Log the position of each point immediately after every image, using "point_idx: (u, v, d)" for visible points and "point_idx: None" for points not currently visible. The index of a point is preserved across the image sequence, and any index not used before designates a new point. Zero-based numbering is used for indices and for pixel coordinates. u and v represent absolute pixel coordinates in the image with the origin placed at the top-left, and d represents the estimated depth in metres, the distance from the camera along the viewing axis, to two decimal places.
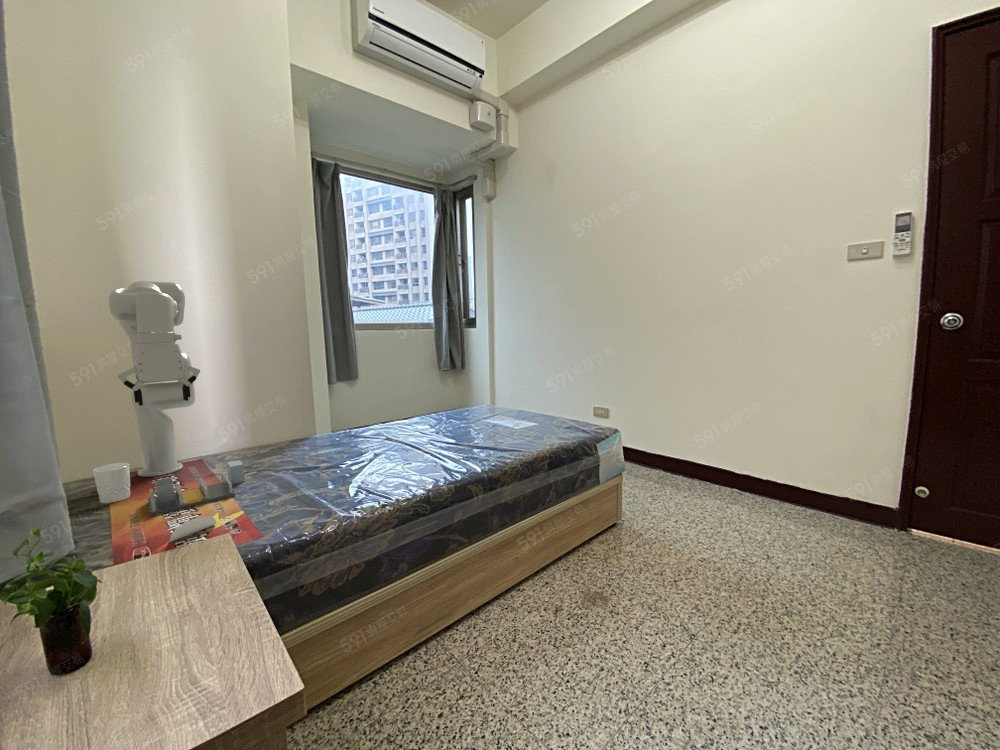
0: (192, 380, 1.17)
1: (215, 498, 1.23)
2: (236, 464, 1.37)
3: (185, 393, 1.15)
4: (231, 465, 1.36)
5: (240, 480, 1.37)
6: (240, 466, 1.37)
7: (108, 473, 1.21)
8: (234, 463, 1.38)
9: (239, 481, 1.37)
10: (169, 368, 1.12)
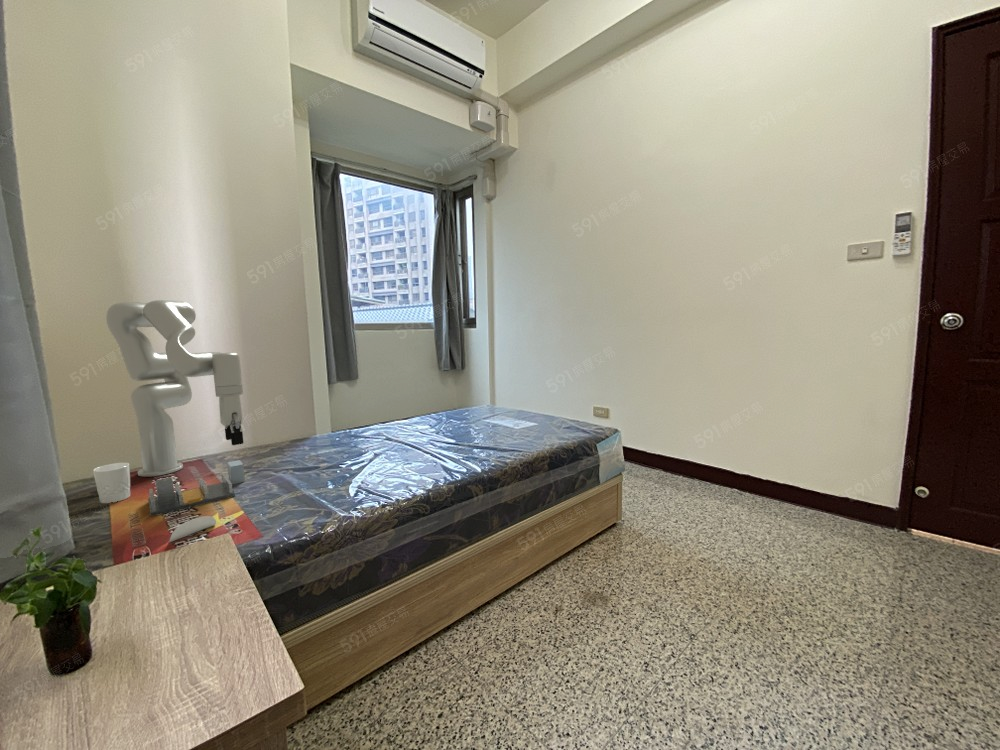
0: None
1: (215, 498, 1.23)
2: (236, 464, 1.37)
3: None
4: (231, 465, 1.36)
5: (240, 480, 1.37)
6: (240, 466, 1.37)
7: (108, 473, 1.21)
8: (234, 463, 1.38)
9: (239, 481, 1.37)
10: None
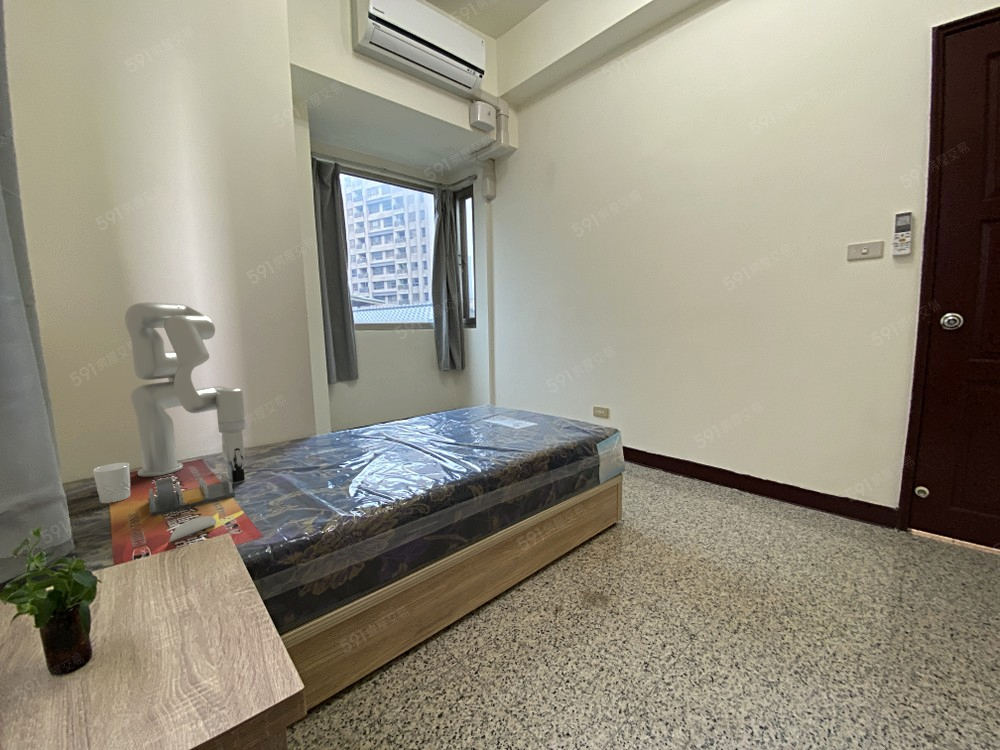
0: None
1: (215, 498, 1.23)
2: None
3: None
4: (231, 465, 1.36)
5: None
6: None
7: (108, 473, 1.21)
8: None
9: (239, 481, 1.37)
10: None
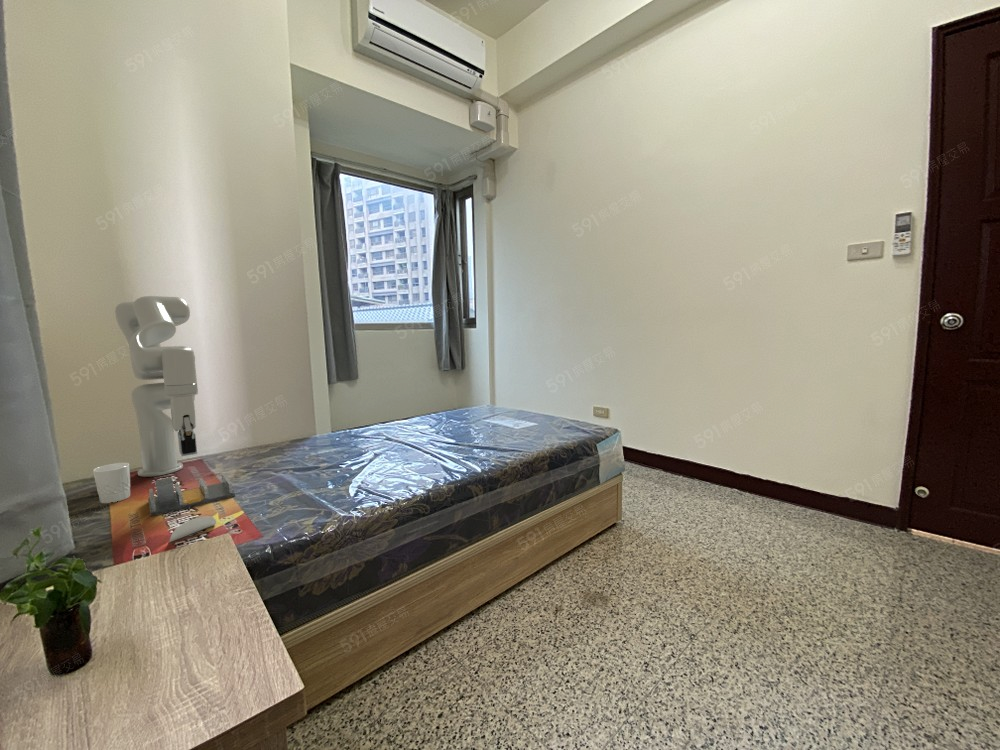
0: None
1: (215, 498, 1.23)
2: None
3: None
4: None
5: None
6: None
7: (108, 473, 1.21)
8: None
9: (190, 453, 1.21)
10: None
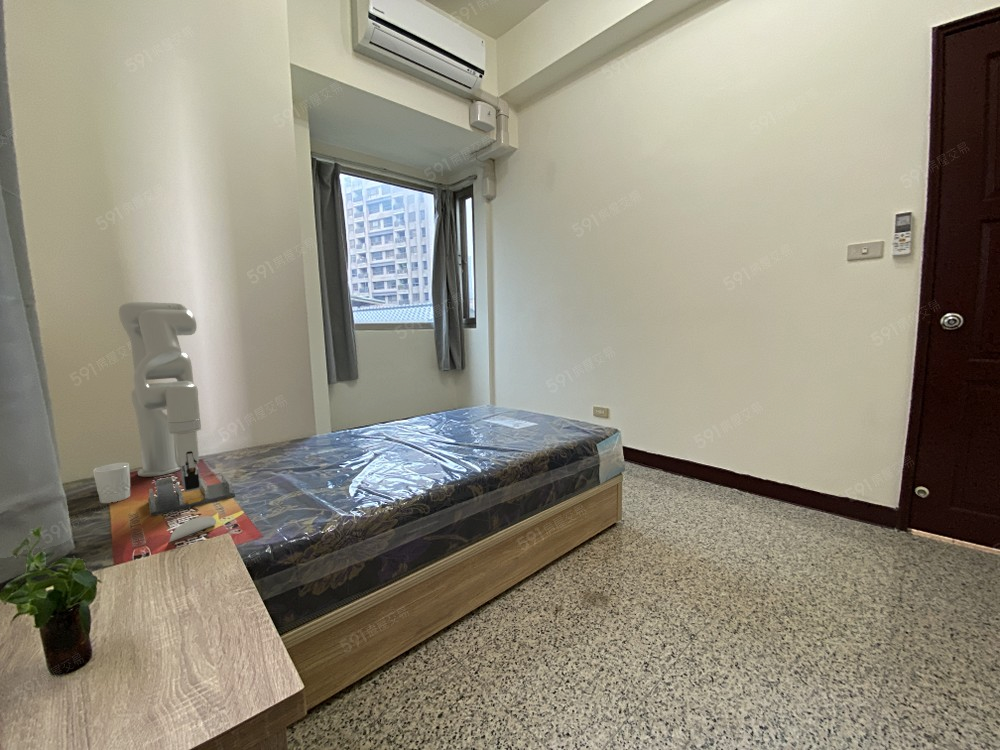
0: None
1: (215, 498, 1.23)
2: None
3: None
4: (184, 470, 1.21)
5: None
6: None
7: (108, 473, 1.21)
8: None
9: None
10: None
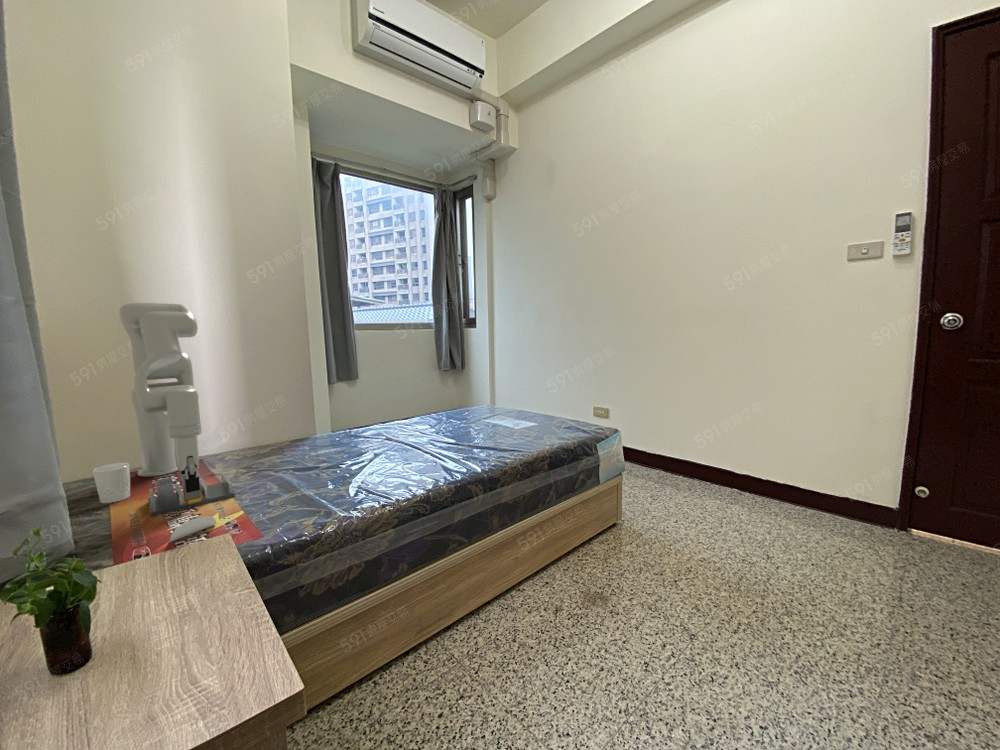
0: None
1: (215, 498, 1.23)
2: None
3: None
4: (185, 478, 1.21)
5: (195, 495, 1.22)
6: None
7: (108, 473, 1.21)
8: None
9: (194, 496, 1.22)
10: None
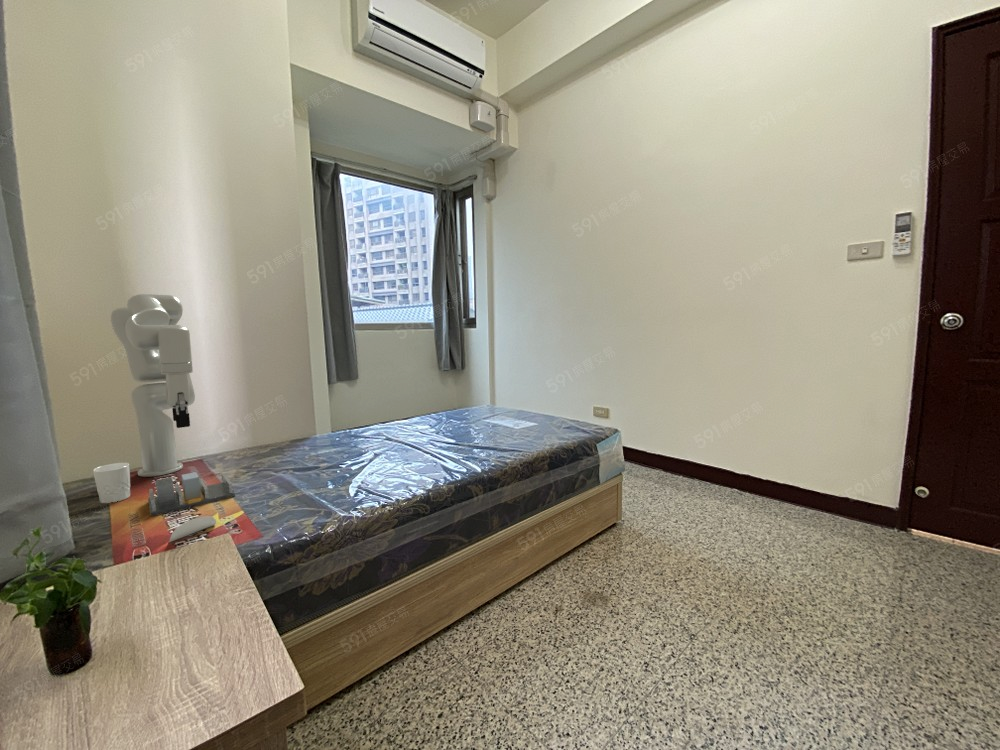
0: None
1: (215, 498, 1.23)
2: (191, 477, 1.22)
3: None
4: (185, 478, 1.21)
5: (195, 495, 1.22)
6: (195, 479, 1.22)
7: (108, 473, 1.21)
8: (189, 476, 1.23)
9: (194, 496, 1.22)
10: None
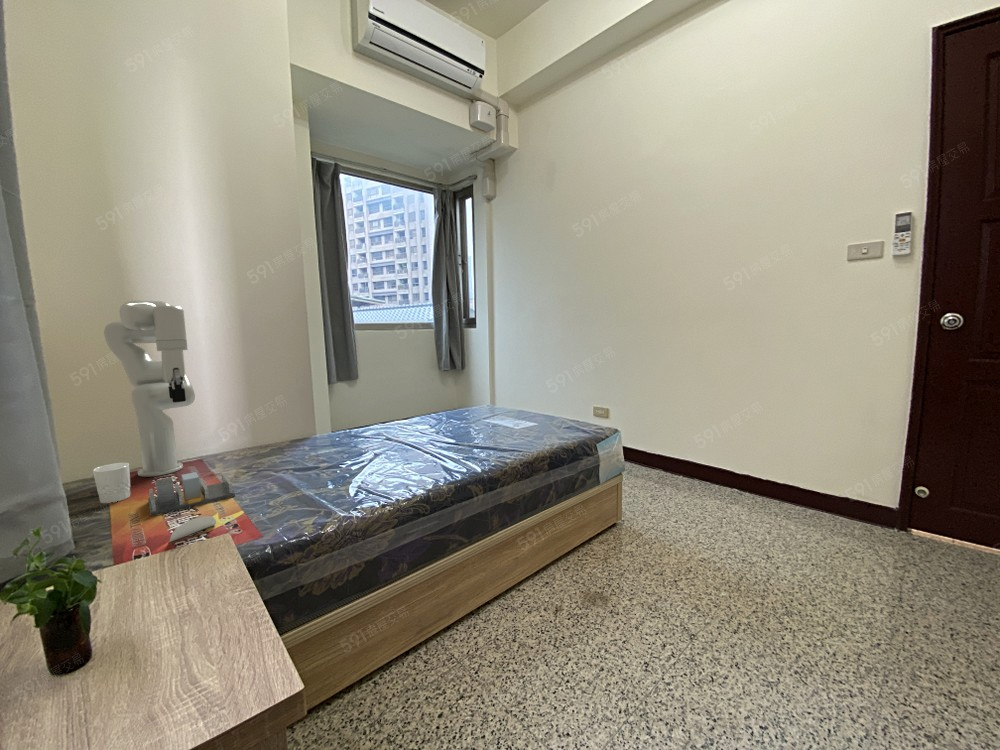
0: None
1: (215, 498, 1.23)
2: (191, 477, 1.22)
3: None
4: (185, 478, 1.21)
5: (195, 495, 1.22)
6: (195, 479, 1.22)
7: (108, 473, 1.21)
8: (189, 476, 1.23)
9: (194, 496, 1.22)
10: None
